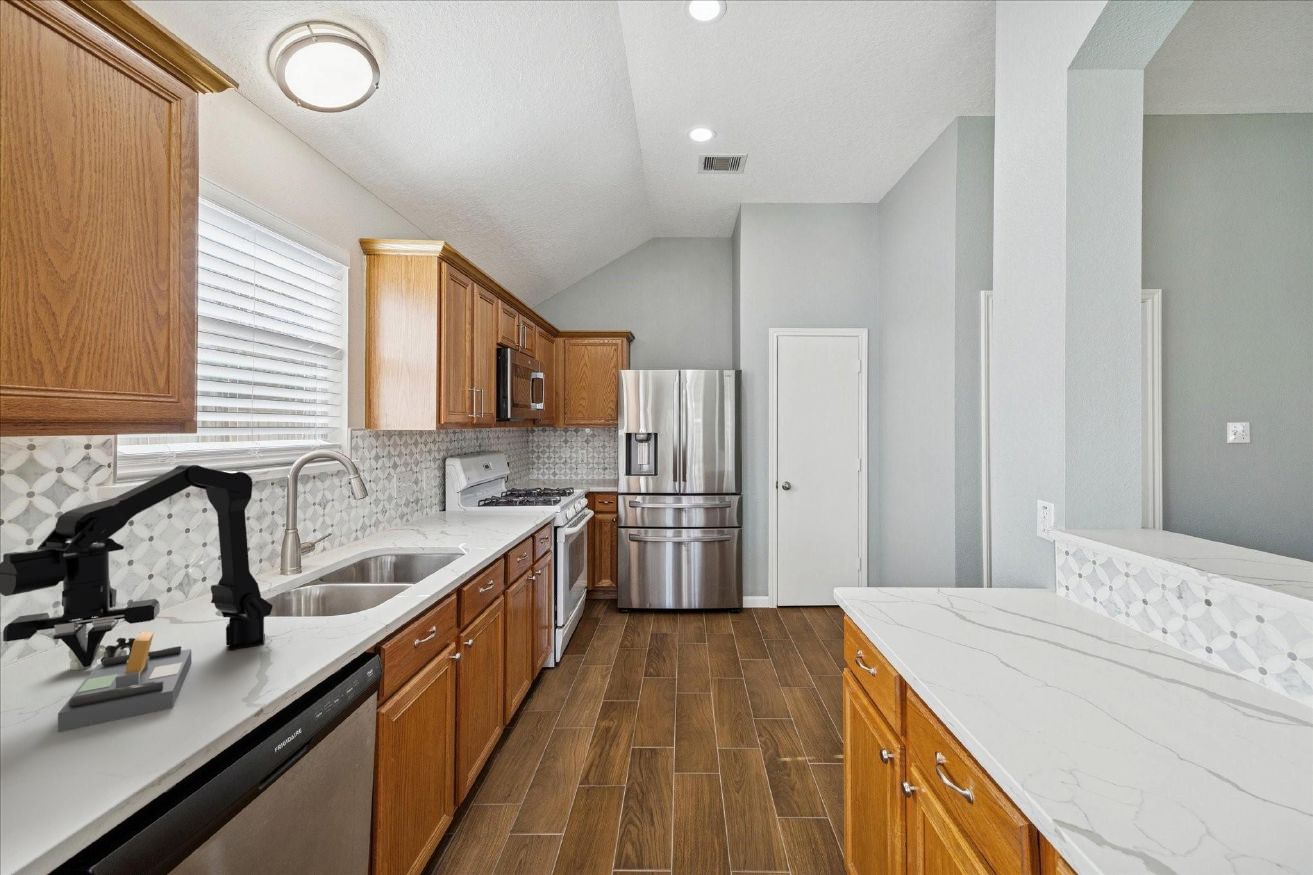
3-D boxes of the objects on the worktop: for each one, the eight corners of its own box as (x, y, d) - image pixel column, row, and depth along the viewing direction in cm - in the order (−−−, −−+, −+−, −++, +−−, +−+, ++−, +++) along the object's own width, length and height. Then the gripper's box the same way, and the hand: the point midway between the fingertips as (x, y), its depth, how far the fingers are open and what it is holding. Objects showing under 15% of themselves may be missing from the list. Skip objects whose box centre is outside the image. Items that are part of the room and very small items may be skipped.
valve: (55, 672, 110) (104, 677, 108) (55, 640, 110) (104, 644, 108) (94, 659, 116) (141, 663, 115) (93, 628, 116) (140, 632, 114)
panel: (191, 663, 114) (191, 639, 114) (172, 707, 96) (172, 679, 96) (98, 679, 107) (97, 654, 107) (58, 731, 88) (57, 701, 88)
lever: (144, 666, 104) (153, 632, 105) (138, 676, 100) (148, 640, 101) (130, 666, 103) (140, 632, 104) (124, 676, 99) (133, 640, 100)
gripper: (164, 563, 110) (165, 640, 110) (28, 577, 99) (29, 662, 100) (152, 575, 100) (154, 660, 101) (0, 592, 90) (2, 686, 90)
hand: (87, 666), depth 98 cm, fingers closed
